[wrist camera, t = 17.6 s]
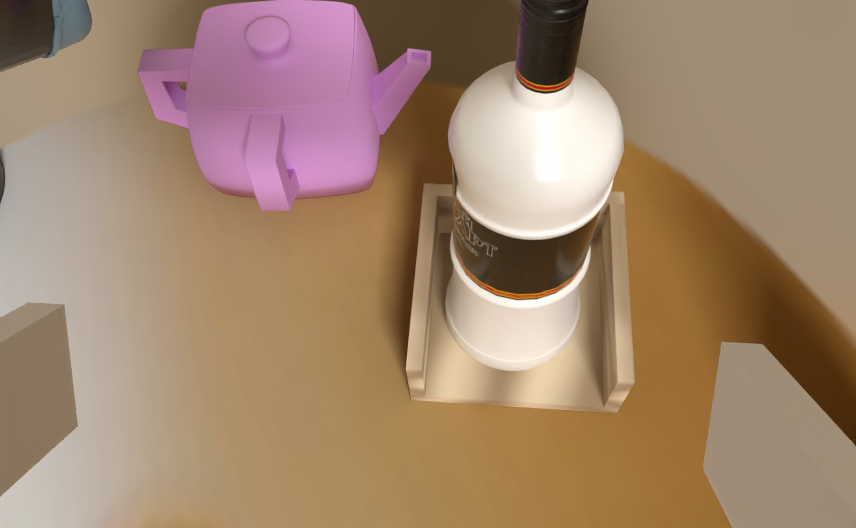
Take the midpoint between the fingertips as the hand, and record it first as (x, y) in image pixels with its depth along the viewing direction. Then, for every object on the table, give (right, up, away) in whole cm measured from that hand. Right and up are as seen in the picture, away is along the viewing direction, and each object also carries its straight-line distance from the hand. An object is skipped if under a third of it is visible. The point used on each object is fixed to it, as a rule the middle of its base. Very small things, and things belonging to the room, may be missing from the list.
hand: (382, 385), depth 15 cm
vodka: (+7, -1, +39) cm, 39 cm away
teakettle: (-9, +13, +49) cm, 52 cm away
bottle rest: (+7, -1, +40) cm, 40 cm away
